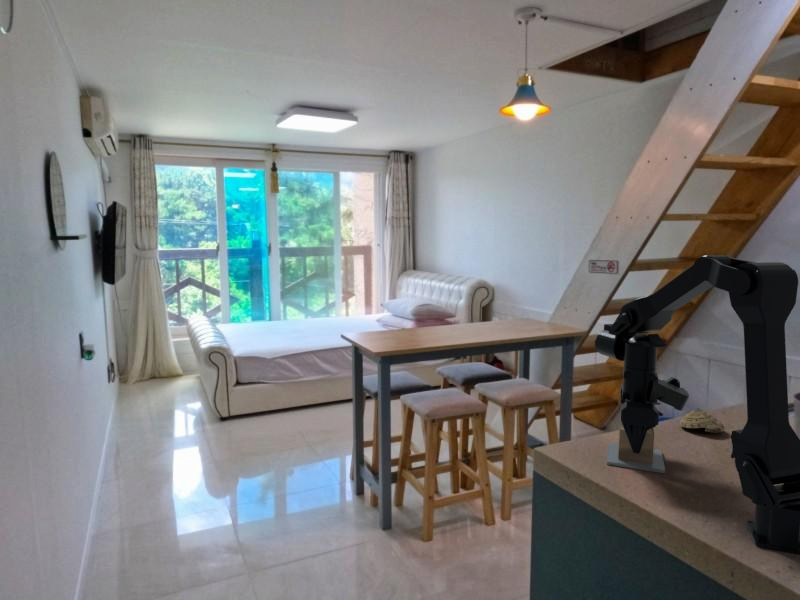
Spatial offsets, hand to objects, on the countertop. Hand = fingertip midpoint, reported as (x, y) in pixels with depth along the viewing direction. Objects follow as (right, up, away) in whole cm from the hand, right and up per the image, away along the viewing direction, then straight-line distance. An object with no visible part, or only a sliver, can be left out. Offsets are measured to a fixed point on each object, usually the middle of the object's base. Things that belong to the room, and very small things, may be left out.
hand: (635, 444), depth 102 cm
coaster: (0, -3, 0) cm, 3 cm away
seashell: (+25, -2, +13) cm, 28 cm away
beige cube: (0, -2, 0) cm, 2 cm away
